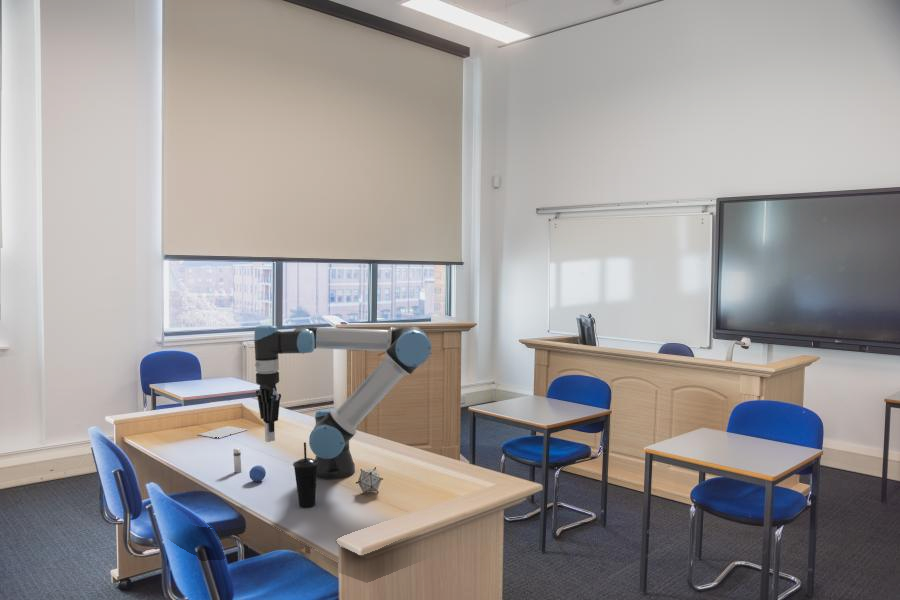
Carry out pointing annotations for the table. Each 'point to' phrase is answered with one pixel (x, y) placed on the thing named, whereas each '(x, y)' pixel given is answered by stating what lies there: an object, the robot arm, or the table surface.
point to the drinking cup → (306, 480)
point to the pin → (237, 460)
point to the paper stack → (222, 432)
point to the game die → (369, 480)
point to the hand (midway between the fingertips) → (270, 440)
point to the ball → (257, 473)
